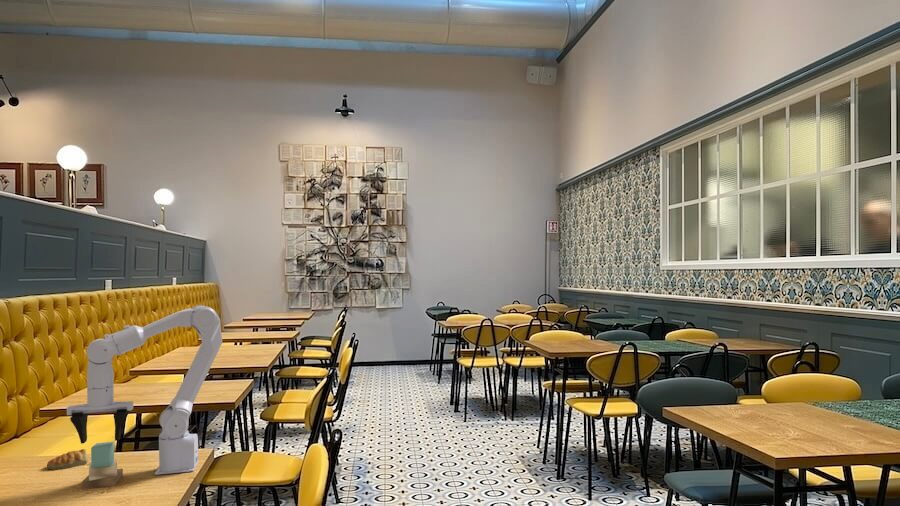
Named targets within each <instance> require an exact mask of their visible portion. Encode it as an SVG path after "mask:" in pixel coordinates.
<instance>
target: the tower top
mask: <svg viewBox="0 0 900 506" xmlns="http://www.w3.org/2000/svg"><path fill="white" fill-rule="evenodd" d="M88 465H89V467H88V475H89V481H91V480H96V479H102V478H108V477H113V476H117V469H118V459H117V458H116V459H115V458H114V462H113V463H112V464H111V465H110V466H108V467H98V468H91V462H89V464H88Z"/></svg>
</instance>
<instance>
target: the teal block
mask: <svg viewBox="0 0 900 506" xmlns="http://www.w3.org/2000/svg"><path fill="white" fill-rule="evenodd" d="M90 452H91V453H90V455H91V457H90V459H91V461H90V463H91V468H98V467H108V466H110V465H111V464H112V463H113V462H114V459H115V441H105V442H97V443H95V444H94V445H93V446H91V448H90Z"/></svg>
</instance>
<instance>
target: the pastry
mask: <svg viewBox="0 0 900 506" xmlns="http://www.w3.org/2000/svg"><path fill="white" fill-rule="evenodd" d="M88 461H89V460H88V455H87V451H86V448H82V449H79V450H71V451H67V452H66V453H63V454H61V455H59V456H56V457H55V458H52V459H50V460H49V461H47V464H46V469H48V470H49V469H50V470H54V471H55V470H60V469H61V470H62V469H70V468H75V467H80V466H83V465H84V466H85V465H87V464H88Z"/></svg>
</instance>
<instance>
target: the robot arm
mask: <svg viewBox="0 0 900 506" xmlns="http://www.w3.org/2000/svg"><path fill="white" fill-rule="evenodd" d="M177 327H182V328H192V327H193V328H194V329H195V330H196V332H197V334H198V336H199V338H200V341H201V343H200V346H199V348H198V350H197V351H196V354H195V356H194V357H193V360H192V362H191V363H190V366H189V368H188V371H187V372H186V374H185V376H184V379H183V380H182V383H181V385H180V386H179V388H178V391H177V393H175V394H176V395H175V396H174V397H173V399H172V400H171V402H170V403H169V405H168V406H167V408H165V409H164V410H163V411H162V412H161V413H160V414H159V415H160V416H159V419H158V420H159V421H158V422H159V425H160V427H161V428H162V430H161V432H160V433H159V435H158V461H159V462H158V468H157V470H156V471H155V472H154V475H155V476H158V475H168V474H169V475H170V474H177V473H189V472H194V471H195V469H196V467H197V466H198V464H199V461H200V460H199V435H198V433H190V432H189V424H190V422H189V421H190V420H189V419H190V415H191V414H192V410H193V404H194V402H195V401H196V398H197V396H198V394H199V392H200V390H201V388H202V386H203V384H204V382H205V380H206V378H207V375H208V373H209V372H210V369H211V367H212V365H213V363H214V360H215V359H216V356H217V354H218V353H219V350H220V348H221V347H222V344H223V335H222V327H221V319H220V317H219V315H218V313H217V312H216V311H215V309H213V308H212V307H210V306H206V305H204V304H203V305H202V304H201V305H195V306H194V307H192V308H191V307H190V308H188V307H187V308H185V309H182V310H179V311H176V312H173V313H171V314H169V315H167V316H164V317H162V318H160V319H158V320H155V321H152V322H150V323H148V324H147V325H144V326H138V325H134V324H133V325H131V326H130V324H127V325H125V326H123V328H124V329H122V330H119V331H116V332H113V333H111V334H109V333H107V334H106V333H105V334H104V335H103V337H104V338H98V339H94V340H93V341H91V342H90V343H89V344H88V346H87V350H86V356H87V359H88V361H87V370H86V388H87V389H86V392H87V394H86V395H87V396H86V397H87V399H86V401H87V403H85V404H83V403H82V404H75V405H69V406H67V407H66V416H71V417H69V421H70V422H71V423H72V425H73V426H74V428H75V429H76V432H77V434H78V437H79V442H80V444H82V445H83V444H85V443H86V442H87V440H88V430H87V429H88V427H87V425H88V416H89V414H91V413H94V414H95V413H107V412H114V413H113V419H114V442H115V441H119V440H120V439H121V436H122V431H123V428H124V425H125V421H126V419H127V417H128V416H129V414H130V411H132V410H133V409H134V401H133V400H131V401H115V400H114V398H115V397H114V394H115V393H114V387H115V385H114V367H113V358H114V356H121V355H123V354H125V353H128V352H130V351H133V350H134V349H137V348H140V347H142V346H144V344H145V343H146V341H147V339H148V338H149V339H150V338H151V337H153V336H156V335H158V334H162V333H164V332H166V331H169V330H172V329H174V328H177Z"/></svg>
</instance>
